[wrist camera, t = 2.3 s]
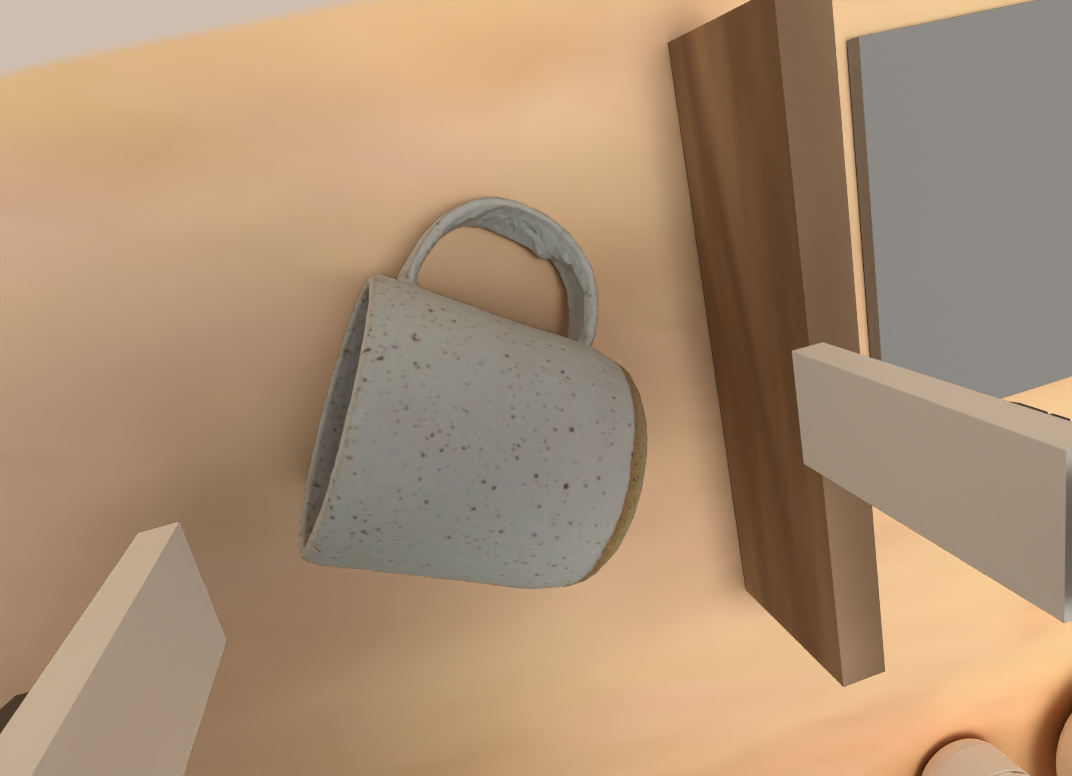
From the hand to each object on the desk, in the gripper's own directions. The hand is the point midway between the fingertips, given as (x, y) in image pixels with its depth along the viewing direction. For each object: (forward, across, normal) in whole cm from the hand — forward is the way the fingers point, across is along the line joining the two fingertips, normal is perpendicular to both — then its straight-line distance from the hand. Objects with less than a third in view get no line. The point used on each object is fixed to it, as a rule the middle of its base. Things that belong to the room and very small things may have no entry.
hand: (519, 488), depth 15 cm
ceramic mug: (+9, 0, 0) cm, 9 cm away
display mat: (+9, +21, +1) cm, 23 cm away
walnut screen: (+9, +9, -1) cm, 13 cm away
